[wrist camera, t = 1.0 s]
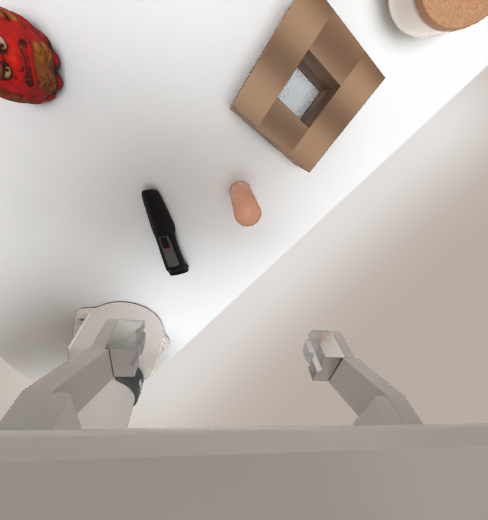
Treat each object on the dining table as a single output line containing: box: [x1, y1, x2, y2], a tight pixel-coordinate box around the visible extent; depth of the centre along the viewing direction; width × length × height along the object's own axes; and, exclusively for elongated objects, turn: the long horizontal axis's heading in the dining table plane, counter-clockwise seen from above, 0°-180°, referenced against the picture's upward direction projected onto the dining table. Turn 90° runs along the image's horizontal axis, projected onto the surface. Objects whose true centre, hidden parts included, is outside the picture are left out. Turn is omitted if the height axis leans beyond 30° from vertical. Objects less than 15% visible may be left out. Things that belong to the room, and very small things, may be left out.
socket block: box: [230, 0, 385, 172], centre depth 28 cm, size 12×12×6 cm
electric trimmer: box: [142, 190, 188, 276], centre depth 37 cm, size 4×16×3 cm, turn 8°
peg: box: [230, 181, 261, 226], centre depth 32 cm, size 3×3×10 cm
